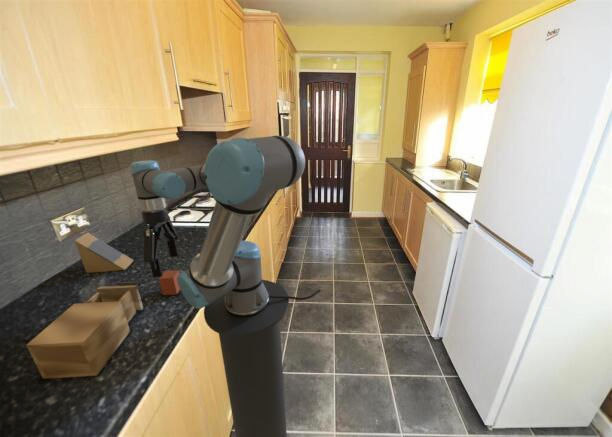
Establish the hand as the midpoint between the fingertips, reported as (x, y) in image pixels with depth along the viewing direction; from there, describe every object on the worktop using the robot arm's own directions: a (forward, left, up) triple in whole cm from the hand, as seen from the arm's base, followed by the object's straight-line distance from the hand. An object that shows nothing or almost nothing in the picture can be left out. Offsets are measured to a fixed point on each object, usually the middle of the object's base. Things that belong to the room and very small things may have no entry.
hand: (166, 265), depth 95 cm
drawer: (+11, +14, -10) cm, 20 cm away
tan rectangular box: (+11, +27, -11) cm, 31 cm away
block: (0, 0, -11) cm, 11 cm away
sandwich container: (+34, -20, -11) cm, 41 cm away
